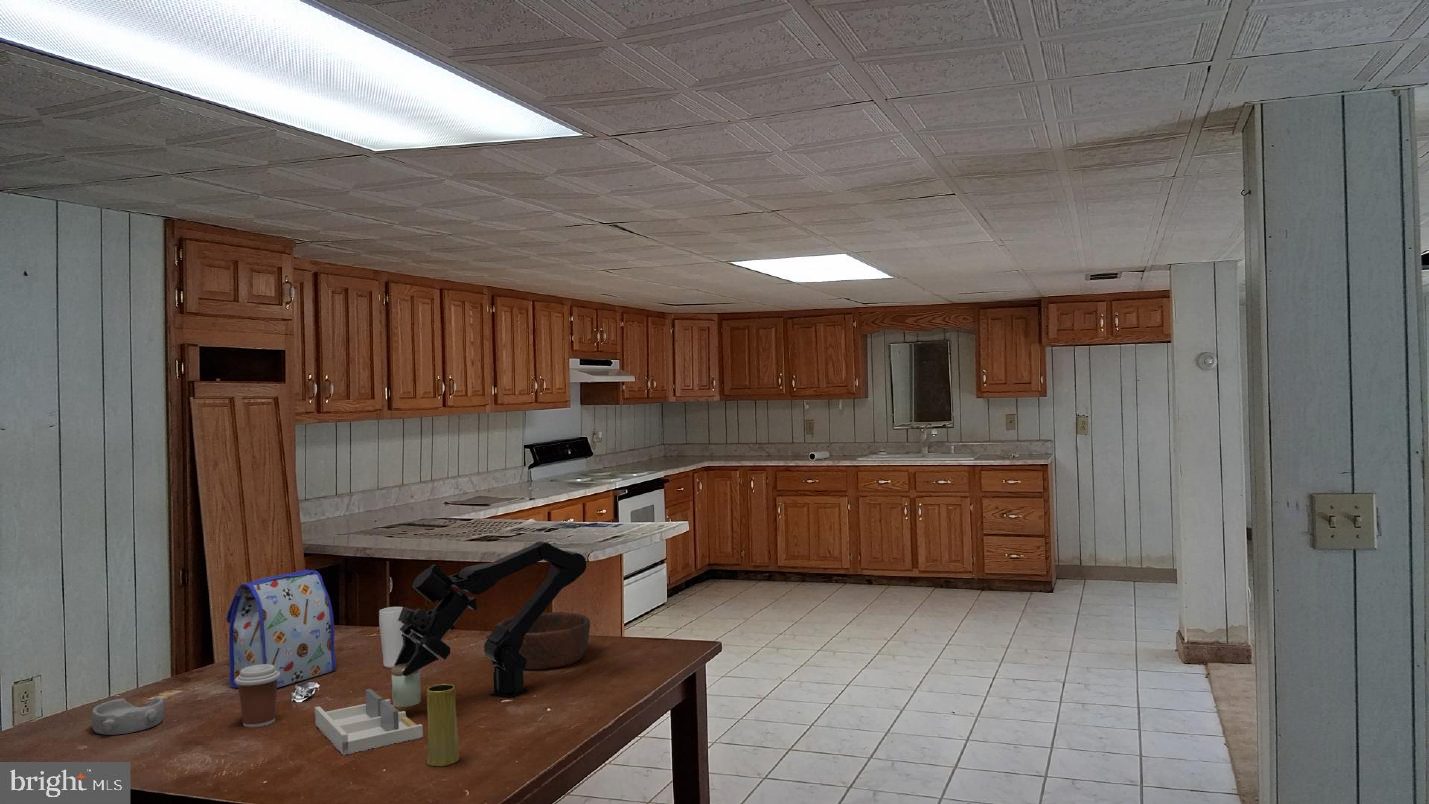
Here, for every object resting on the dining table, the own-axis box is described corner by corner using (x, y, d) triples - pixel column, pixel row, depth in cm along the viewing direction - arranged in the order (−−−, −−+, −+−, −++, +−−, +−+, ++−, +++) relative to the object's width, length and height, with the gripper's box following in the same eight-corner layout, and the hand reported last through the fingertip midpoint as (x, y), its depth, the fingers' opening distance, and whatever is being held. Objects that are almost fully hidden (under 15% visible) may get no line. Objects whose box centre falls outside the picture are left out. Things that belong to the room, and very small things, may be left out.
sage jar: (424, 697, 220) (422, 662, 220) (416, 706, 214) (414, 670, 214) (397, 698, 220) (396, 663, 220) (389, 707, 214) (387, 671, 214)
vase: (430, 756, 191) (428, 683, 191) (462, 754, 191) (459, 682, 191) (423, 768, 185) (421, 693, 185) (456, 766, 185) (454, 691, 185)
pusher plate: (370, 712, 217) (370, 688, 217) (383, 723, 209) (382, 698, 209) (366, 713, 216) (365, 689, 216) (378, 724, 209) (377, 699, 209)
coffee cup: (291, 717, 218) (289, 664, 217) (259, 731, 209) (257, 675, 209) (258, 714, 220) (257, 661, 220) (226, 727, 212) (224, 672, 212)
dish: (97, 722, 219) (97, 700, 219) (168, 712, 224) (167, 691, 224) (85, 742, 205) (84, 719, 205) (159, 732, 211) (159, 709, 211)
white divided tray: (389, 710, 221) (388, 683, 221) (422, 737, 202) (421, 708, 202) (315, 725, 211) (314, 697, 211) (343, 755, 193) (342, 724, 193)
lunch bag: (297, 664, 263) (293, 565, 263) (341, 670, 255) (338, 569, 255) (221, 688, 242) (217, 581, 242) (266, 695, 235) (263, 585, 235)
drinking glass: (399, 669, 254) (397, 612, 254) (375, 668, 256) (373, 612, 256) (412, 662, 261) (410, 606, 261) (389, 661, 262) (387, 606, 262)
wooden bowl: (545, 644, 277) (543, 608, 277) (610, 655, 262) (609, 617, 262) (476, 665, 257) (475, 626, 257) (543, 679, 242) (541, 637, 242)
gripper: (406, 587, 227) (360, 643, 220) (434, 599, 211) (384, 660, 205) (441, 615, 231) (396, 670, 225) (470, 629, 216) (423, 689, 210)
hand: (399, 672), depth 216 cm, fingers closed on sage jar, 6 cm apart
